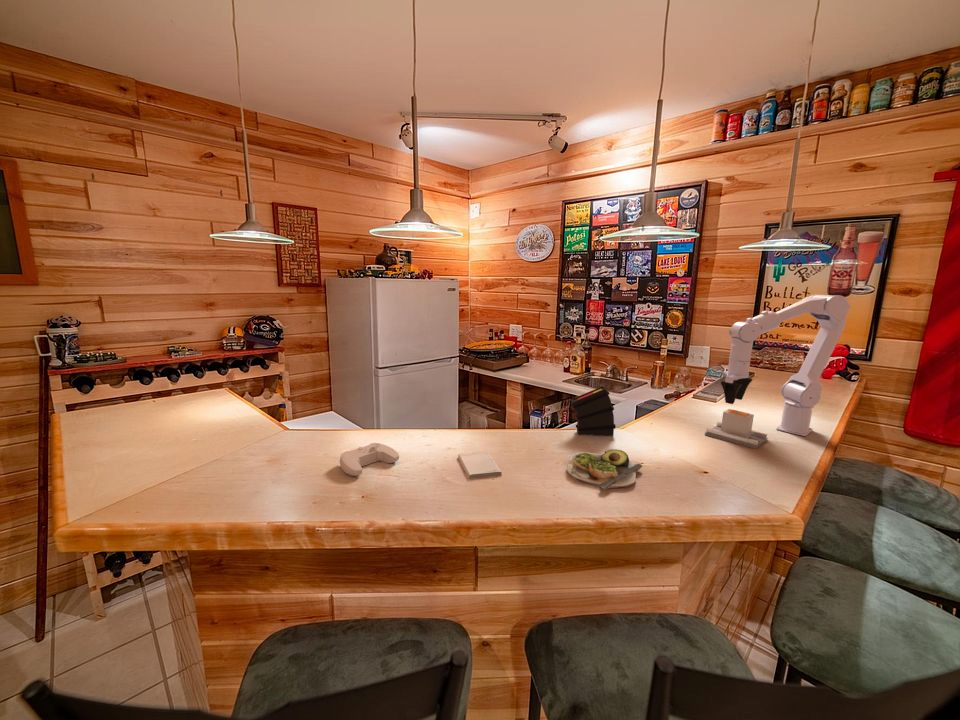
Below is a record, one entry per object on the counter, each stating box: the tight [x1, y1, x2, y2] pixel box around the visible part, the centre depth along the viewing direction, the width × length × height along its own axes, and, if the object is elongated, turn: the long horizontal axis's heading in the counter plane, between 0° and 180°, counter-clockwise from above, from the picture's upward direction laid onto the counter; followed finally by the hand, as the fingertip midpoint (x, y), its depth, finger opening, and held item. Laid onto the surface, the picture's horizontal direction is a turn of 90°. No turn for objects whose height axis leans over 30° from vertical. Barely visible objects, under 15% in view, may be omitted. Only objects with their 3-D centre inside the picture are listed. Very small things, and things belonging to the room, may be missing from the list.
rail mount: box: [704, 421, 769, 450], centre depth 131 cm, size 11×14×2 cm
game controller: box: [339, 442, 400, 477], centre depth 107 cm, size 14×4×10 cm
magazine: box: [570, 385, 617, 437], centre depth 131 cm, size 4×13×15 cm, turn 88°
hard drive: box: [457, 451, 503, 480], centre depth 108 cm, size 2×8×12 cm
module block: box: [721, 408, 754, 438], centre depth 130 cm, size 4×7×7 cm, turn 41°
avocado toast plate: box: [566, 448, 643, 490], centre depth 104 cm, size 19×18×5 cm
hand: (733, 401), depth 137 cm, fingers open, 7 cm apart
